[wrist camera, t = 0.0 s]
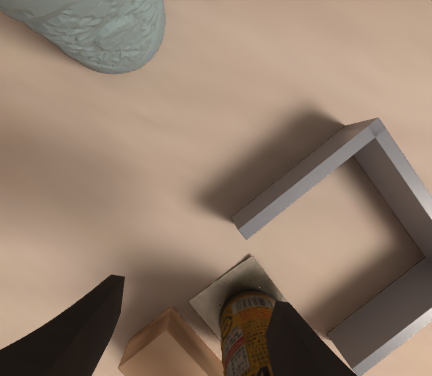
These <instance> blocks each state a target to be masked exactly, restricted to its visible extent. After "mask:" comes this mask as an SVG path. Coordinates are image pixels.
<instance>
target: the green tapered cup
mask: <svg viewBox="0 0 432 376" xmlns="http://www.w3.org/2000/svg"><path fill="white" fill-rule="evenodd" d="M0 10H1V11H2V12H3V13H5V14H6V15H8V16H9V17H11V18H13V19H15V20H19V21H22V22H24V23H25V24H26V25H27V26H28V27H29V28H30V29H32V30H33V31H34V32H37V33H39V34H41V35H43V36H45V37H46V38H47V39H48V40H49V41H51V42H53V43H54V44H55V45H57V46H58V47H59V48H60V49H61V50H62V51H63V52H64V53H66V54H67V55H69V56H70V57H72V58H74V59H75V60H77V61H78V62H80V63H81V64H83V65H85V66H86V67H88V68H90V69H92V70H95V71H98V72H102V73H106V74H121V73H126V72H130V71H134V70H136V69H139V68H141V67H142V66H144V65H145V64H146V63H147V62H148V61H150V60H151V58H152V57H153V56H154V55H155V53H156V52H157V50H158V49H159V47H160V44H161V42H162V39H163V35H164V30H165V9H164V3H163V0H0Z"/></svg>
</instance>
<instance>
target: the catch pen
mask: <svg viewBox="0 0 432 376" xmlns="http://www.w3.org/2000/svg"><path fill="white" fill-rule="evenodd" d="M352 155H353V156H354V157H355V159H356V160H357V162H358V163H359V165H360V166H361V167H362V169H363V170H364V172H365V173H366V174H367V176H368V177H369V179H370V180H371V181H372V183H373V184H374V186H375V187H376V189H377V190H378V191H379V193H380V194H381V196H382V197H383V198H384V200H385V201H386V203H387V204H388V206H389V207H390V208H391V210H392V211H393V213H394V214H395V215H396V217H397V218H398V220H399V221H400V222H401V224H402V225H403V227H404V228H405V230H406V231H407V232H408V234H409V235H410V237H411V238H412V239H413V241H414V242H415V244H416V245H417V246H418V248H419V249H420V251H421V252H422V254H423V255H424V256H425V258H424V259H423V260H421V261H420V262H419V263H417V264H416V265H415V266H414V267H412V268H411V269H410V270H408V271H407V272H406V273H405V274H403V275H402V276H401V277H399V278H398V279H397V280H396V281H394V282H393V283H392V284H390V285H389V286H388V287H387V288H385V289H384V290H383V291H381V292H380V293H379V294H378V295H376V296H375V297H374V298H372V299H371V300H370V301H369V302H367V303H366V304H365V305H363V306H362V307H361V308H360V309H358V310H357V311H356V312H354V313H353V314H352V315H351V316H349V317H348V318H347V319H345V320H344V321H343V322H342V323H340V324H339V325H338V326H337V327H335V328H334V329H333V330H331V331H330V332H329V333H328V334H327V335H328V337H329V338H330V339H331V341H332V342H333V343H334V345H335V346H336V348H337V349H338V350H339V352H340V353H341V355H342V356H343V357H344V359H345V360H346V361H347V363H348V364H349V366H350V367H351V368H352V370H353V371H354V372H355V373H356V375H357V376H361V375H363V374H364V373H365V372H367V371H368V370H369V369H371V368H372V367H373V366H374V365H376V364H377V363H378V362H380V361H381V360H382V359H384V358H385V357H386V356H387V355H389V354H390V353H391V352H393V351H394V350H395V349H396V348H398V347H399V346H400V345H402V344H403V343H404V342H406V341H407V340H408V339H409V338H411V337H412V336H413V335H415V334H416V333H417V332H419V331H420V330H421V329H422V328H424V327H425V326H426V325H428V324H429V323H430V322H432V196H431V194H430V193H429V191H428V190H427V188H426V187H425V185H424V184H423V182H422V181H421V179H420V178H419V176H418V175H417V173H416V172H415V171H414V169H413V168H412V166H411V165H410V163H409V162H408V160H407V159H406V157H405V156H404V154H403V153H402V151H401V150H400V148H399V147H398V145H397V144H396V142H395V141H394V139H393V138H392V136H391V135H390V133H389V132H388V131H387V129H386V128H385V126H384V125H383V123H382V122H381V120H380V119H379V118H375V119H371V120H366V121H362V122H358V123H354V124H350V125H346V126H345V127H344V128H342V129H341V130H340V131H339V132H337V133H336V134H335V135H334V136H332V137H331V138H330V139H329V140H327V141H326V142H325V143H324V144H322V145H321V146H320V147H319V148H317V149H316V150H315V151H314V152H312V153H311V154H310V155H309V156H307V157H306V158H305V159H304V160H302V161H301V162H300V163H299V164H297V165H296V166H295V167H294V168H292V169H291V170H290V171H289V172H287V173H286V174H285V175H284V176H282V177H281V178H280V179H279V180H277V181H276V182H275V183H274V184H272V185H271V186H270V187H269V188H268V189H266V190H265V191H264V192H263V193H261V194H260V195H259V196H258V197H256V198H255V199H254V200H253V201H251V202H250V203H249V204H248V205H246V206H245V207H244V208H243V209H241V210H240V211H239V212H238V213H236V214H235V215H234V216H233V217H231V218H232V220H233V221H234V223H235V225H236V227H237V229H238V231H239V232H240V233H241V234H242V235H243V237H244V238H245V239H246V240H247V239H248V238H250V237H251V236H252V235H253V234H255V233H256V232H257V231H258V230H260V229H261V228H262V227H263V226H265V225H266V224H267V223H268V222H270V221H271V220H272V219H273V218H275V217H276V216H277V215H278V214H280V213H281V212H282V211H283V210H285V209H286V208H287V207H289V206H290V205H291V204H292V203H294V202H295V201H296V200H297V199H299V198H300V197H301V196H302V195H304V194H305V193H306V192H307V191H309V190H310V189H311V188H312V187H314V186H315V185H316V184H317V183H319V182H320V181H321V180H322V179H324V178H325V177H326V176H327V175H329V174H330V173H331V172H332V171H334V170H335V169H336V168H337V167H339V166H340V165H341V164H342V163H344V162H345V161H346V160H347V159H349V158H350V157H351V156H352Z"/></svg>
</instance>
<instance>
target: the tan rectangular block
mask: <svg viewBox="0 0 432 376" xmlns="http://www.w3.org/2000/svg"><path fill="white" fill-rule="evenodd" d="M118 369H119V370H120V371H121V372H122V373H123V374H124V375H125V376H224V374H223V370H224V369H223V364H222V362H221V361H220V359H219V358H218V357H217V356H216V355H215V354H214V353H213V352H212V351H211V349H210V348H209V347H208V346H207V345H206V344H205V343H204V342H203V341H202V339H201V338H200V337H199V336H198V335H197V334H196V333H195V332H194V331H193V329H192V328H191V327H190V326H189V325H188V324H187V323H186V322H185V321H184V319H183V318H182V317H181V316H180V315H179V314H178V313H177V312H176V311H175V309H174V308H173V307H172V306H171V307H170V308H169V309H167V310H166V311H165V312H163V313H162V314H161V315H160V316H158V317H157V318H156V319H155V320H153V321H152V322H151V323H150V324H148V325H147V326H146V327H144V328H143V329H142V330H141V331H139V332H138V333H137V334H136V335H134V336H133V337H132V338H130V340H129V342H128V344H127V347H126V349H125V352H124V354H123V357H122V359H121V362H120V364H119V367H118Z"/></svg>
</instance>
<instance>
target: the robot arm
mask: <svg viewBox="0 0 432 376" xmlns="http://www.w3.org/2000/svg"><path fill="white" fill-rule="evenodd" d="M124 280H125V277H123V276H117V275H110V276H109V277H107V278H106V279H105V280H104V281H103V282H101V283H100V284H99V285H98V286H96V287H95V288H94V289H93V290H92V291H90V292H89V293H88V294H86V295H85V296H84V297H83V298H81V299H80V300H79V301H77V302H76V303H75V304H73V305H72V306H71V307H69V308H68V309H66V310H65V311H64V312H62V313H61V314H59V315H58V316H56V317H55V318H53V319H52V320H51V321H49V322H47V323H46V324H44V325H43V326H41V327H40V328H38V329H37V330H35V331H33V332H32V333H30V334H28V335H27V336H25V337H23V338H21V339H20V340H18V341H16V342H14V343H12V344H10V345H9V346H7V347H5V348H3V349H1V350H0V376H92V374H93V372H94V370H95V368H96V366H97V364H98V362H99V360H100V358H101V356H102V354H103V352H104V350H105V348H106V346H107V345H108V343H109V341H110V339H111V337H112V334H113V331H114V329H115V326H116V324H117V321H118V318H119V316H120V313H121V305H122V296H123V288H124ZM265 335H266V342H267V349H268V356H269V360H270V365H271V368H272V372H273V376H357V375H356V374H355V373H354V372H353V371H352V370H351V369H349V368H348V367H347V366H346V365H345V364H344V363H343V362H342V361H341V360H340V359H339V358H338V357H337V356H336V354H335V353H334V352H333V351H332V350H331V349H330V348H329V347H328V346H327V345H326V344H325V343H324V342H323V341H322V340H321V339H320V337H319V336H318V335H317V334H316V333H315V332H314V331H313V330H312V328H311V327H310V326H309V325H308V324H307V323H306V322H305V320H304V319H303V318H302V317H301V316H300V315H299V313H298V312H297V311H296V310H295V309H294V308H293V307H292V305H291V304H290V303H289V302H284V301H277V300H276V303H275V306H274V309H273V312H272V315H271V318H270V321H269V325H268V328H267V331H266V334H265Z"/></svg>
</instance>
